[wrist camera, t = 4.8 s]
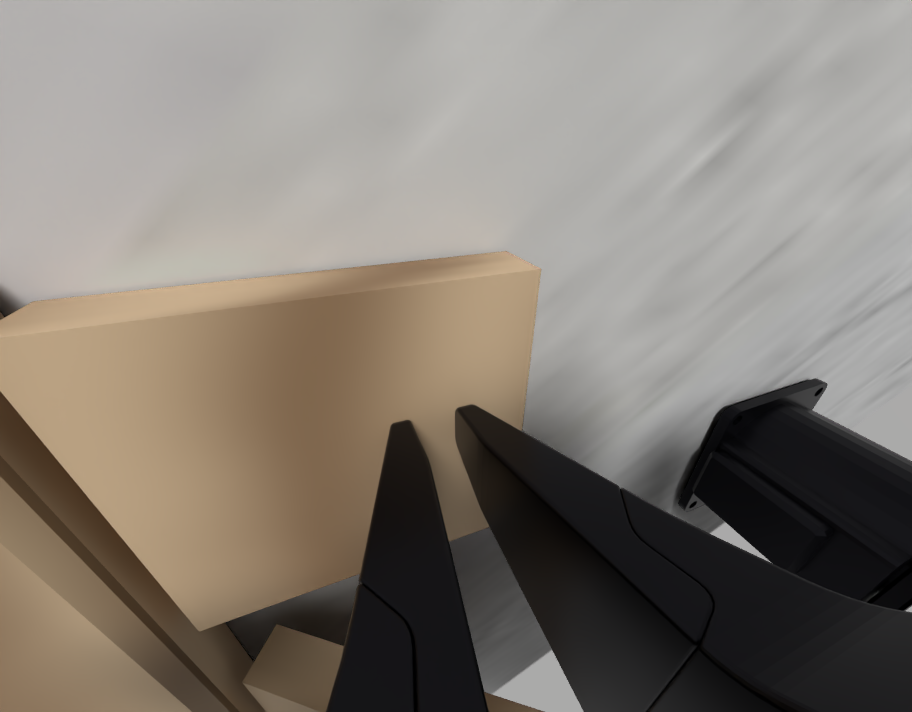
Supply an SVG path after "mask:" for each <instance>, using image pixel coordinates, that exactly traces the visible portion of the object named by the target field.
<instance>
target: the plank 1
mask: <svg viewBox="0 0 912 712" xmlns="http://www.w3.org/2000/svg"><path fill="white" fill-rule="evenodd" d="M540 275H541V269H540V268H538V267H536V266H534V265H532V264H530V263H528V262H526V261H525V260H523V259H521V258H519V257H517V256H515V255H513V254H511V253H509V252H507V251H504V252H494V253H485V254H475V255H466V256H457V257H447V258H438V259H428V260H419V261H409V262H400V263H391V264H381V265H372V266H362V267H353V268H344V269H334V270H325V271H315V272H306V273H296V274H287V275H278V276H268V277H259V278H249V279H240V280H230V281H221V282H212V283H202V284H193V285H183V286H174V287H165V288H155V289H146V290H136V291H127V292H117V293H108V294H99V295H89V296H80V297H70V298H61V299H52V300H42V301H33V302H31V303H30V304H28V305H26V306H24V307H23V308H21V309H19V310H17V311H16V312H14V313H12V314H10V315H8V316H7V317H5V318H3V319H1V320H0V391H1V393H2V394H3V395H4V396H5V397H6V399H7V400H8V401H9V402H10V403H11V405H12V406H13V407H14V408H15V409H16V411H17V412H18V413H19V414H20V416H21V417H22V418H23V419H24V420H25V422H26V423H27V424H28V425H29V426H30V428H31V429H32V430H33V431H34V432H35V434H36V435H37V436H38V437H39V439H40V440H41V441H42V442H43V443H44V445H45V446H46V447H47V448H48V449H49V451H50V452H51V453H52V454H53V455H54V457H55V458H56V459H57V460H58V462H59V463H60V464H61V465H62V466H63V468H64V469H65V470H66V471H67V472H68V474H69V475H70V476H71V477H72V478H73V480H74V481H75V482H76V483H77V485H78V486H79V487H80V488H81V489H82V491H83V492H84V493H85V494H86V495H87V497H88V498H89V499H90V500H91V502H92V503H93V504H94V505H95V506H96V508H97V509H98V510H99V511H100V512H101V514H102V515H103V516H104V517H105V518H106V520H107V521H108V522H109V523H110V525H111V526H112V527H113V528H114V529H115V531H116V532H117V533H118V534H119V535H120V537H121V538H122V539H123V540H124V541H125V543H126V544H127V545H128V546H129V548H130V549H131V550H132V551H133V552H134V554H135V555H136V556H137V557H138V558H139V560H140V561H141V562H142V563H143V564H144V566H145V567H146V568H147V569H148V571H149V572H150V573H151V574H152V575H153V577H154V578H155V579H156V580H157V581H158V583H159V584H160V585H161V586H162V587H163V589H164V590H165V591H166V592H167V594H168V595H169V596H170V597H171V598H172V600H173V601H174V602H175V603H176V604H177V606H178V607H179V608H180V609H181V610H182V612H183V613H184V614H185V615H186V617H187V618H188V619H189V620H190V621H191V623H192V624H193V625H194V626H195V627H196V629H197V630H198V631H202V630H205V629H208V628H211V627H213V626H216V625H219V624H222V623H225V622H227V621H230V620H233V619H236V618H238V617H241V616H244V615H247V614H250V613H252V612H255V611H258V610H261V609H263V608H266V607H269V606H272V605H275V604H277V603H280V602H283V601H286V600H288V599H291V598H294V597H297V596H300V595H302V594H305V593H308V592H311V591H313V590H316V589H319V588H322V587H325V586H327V585H330V584H333V583H336V582H338V581H341V580H344V579H347V578H350V577H352V576H355V575H358V574H360V572H361V567H362V562H363V557H364V552H365V547H366V543H367V538H368V533H369V528H370V523H371V518H372V513H373V508H374V503H375V499H376V494H377V489H378V484H379V479H380V474H381V469H382V464H383V459H384V454H385V450H386V445H387V440H388V435H389V430H390V426H391V424H392V423H395V422H399V421H404V420H410V421H411V422H412V424H413V426H414V428H415V430H416V433H417V435H418V437H419V439H420V441H421V443H422V445H423V447H424V450H425V452H426V454H427V456H428V459H429V462H430V465H431V469H432V473H433V477H434V481H435V485H436V490H437V494H438V498H439V502H440V507H441V511H442V515H443V519H444V524H445V528H446V532H447V536H448V541H449V542H450V541H452V540H455V539H458V538H461V537H463V536H466V535H469V534H472V533H475V532H477V531H480V530H483V529H486V528H489V525H488V523H487V521H486V519H485V517H484V515H483V513H482V511H481V508H480V506H479V503H478V501H477V498H476V496H475V493H474V490H473V488H472V485H471V482H470V480H469V477H468V474H467V472H466V469H465V466H464V464H463V461H462V458H461V455H460V453H459V450H458V447H457V444H456V440H455V410H456V409H457V408H458V407H462V406H466V405H470V404H474V405H476V406H478V407H480V408H482V409H483V410H485V411H487V412H489V413H491V414H492V415H494V416H496V417H498V418H499V419H501V420H503V421H505V422H506V423H508V424H510V425H512V426H514V427H515V428H517V429H519V430H521V431H522V426H523V418H524V409H525V401H526V392H527V384H528V376H529V367H530V359H531V350H532V342H533V334H534V325H535V317H536V308H537V300H538V291H539V283H540Z"/></svg>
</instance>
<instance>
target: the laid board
mask: <svg viewBox="0 0 912 712" xmlns="http://www.w3.org/2000/svg"><path fill="white" fill-rule="evenodd" d="M3 318H4V317H3V315H2V314H1V312H0V320H1V319H3ZM253 663H254V662H253V661H252V659H251V658H250V657H249V655H248V654H247V652H246V651H245V650H244V648H243V647H242V646H241V644H240V643H239V641H238V640H237V639H236V637H235V636H234V635H233V633H232V632H231V630H230V629H229V628H228V626H227V625H226V623H222V624H219V625H216V626H213V627H211V628H208V629H205V630H202V631H198V630H197V629H196V627H195V626H194V625H193V624H192V623H191V621H190V620H189V619H188V618H187V617H186V615H185V614H184V613H183V612H182V610H181V609H180V608H179V607H178V606H177V604H176V603H175V602H174V601H173V600H172V598H171V597H170V596H169V595H168V594H167V592H166V591H165V590H164V589H163V587H162V586H161V585H160V584H159V583H158V581H157V580H156V579H155V578H154V577H153V575H152V574H151V573H150V572H149V571H148V569H147V568H146V567H145V566H144V564H143V563H142V562H141V561H140V560H139V558H138V557H137V556H136V555H135V554H134V552H133V551H132V550H131V549H130V548H129V546H128V545H127V544H126V543H125V541H124V540H123V539H122V538H121V537H120V535H119V534H118V533H117V532H116V531H115V529H114V528H113V527H112V526H111V525H110V523H109V522H108V521H107V520H106V518H105V517H104V516H103V515H102V514H101V512H100V511H99V510H98V509H97V508H96V506H95V505H94V504H93V503H92V502H91V500H90V499H89V498H88V497H87V495H86V494H85V493H84V492H83V491H82V489H81V488H80V487H79V486H78V485H77V483H76V482H75V481H74V480H73V478H72V477H71V476H70V475H69V474H68V472H67V471H66V470H65V469H64V468H63V466H62V465H61V464H60V463H59V462H58V460H57V459H56V458H55V457H54V455H53V454H52V453H51V452H50V451H49V449H48V448H47V447H46V446H45V445H44V443H43V442H42V441H41V440H40V439H39V437H38V436H37V435H36V434H35V432H34V431H33V430H32V429H31V428H30V426H29V425H28V424H27V423H26V422H25V420H24V419H23V418H22V417H21V416H20V414H19V413H18V412H17V411H16V409H15V408H14V407H13V406H12V405H11V403H10V402H9V401H8V400H7V399H6V397H5V396H4V395H3V394H2V393H1V391H0V712H266V711H265V710H264V708H263V707H262V706H261V705H260V704H259V702H258V701H257V700H256V699H255V698H254V696H253V695H252V694H251V693H250V691H249V690H248V689H247V688H246V687H245V685H244V684H243V683H242V681H243V680H244V678H245V676H246V675H247V673H248V671H249V670H250V668H251V666H252V665H253Z"/></svg>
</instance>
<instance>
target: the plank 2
mask: <svg viewBox="0 0 912 712" xmlns="http://www.w3.org/2000/svg"><path fill="white" fill-rule="evenodd" d="M343 648H344V646H342V645H339V644H336V643H333V642H330V641H327V640H324V639H321V638H318V637H314V636H311V635H308V634H305V633H302V632H299V631H296V630H293V629H290V628H287V627H284V626H281V625H278V624H276V626H275V627H274V629H273V631H272V632H271V634H270V636H269V638H268V639H267V641H266V643H265V644H264V646H263V648H262V649H261V651H260V653H259V654H258V656H257V658H256V660H255V661H254V663H253V665H252V666H251V668H250V670H249V671H248V673H247V675H246V676H245V678H244V680H243V681H242V683H243V684H244V685H245V687H246V688H247V689H248V690H249V691H250V693H251V694H252V695H253V696H254V698H255V699H256V700H257V701H258V702H259V704H260V705H261V706H262V707H263V708H264V710H265V711H266V712H326V709H327V706H328V702H329V699H330V695H331V692H332V688H333V685H334V681H335V678H336V675H337V671H338V668H339V664H340V661H341V657H342V652H343ZM484 693H485V697H486V702H487V706H488V710H489V712H543V711H541V710H537V709H534V708H531V707H528V706H525V705H522V704H519V703H516V702H513V701H510V700H507V699H504V698H501V697H498V696H494V695H492V694H489V693H486V692H484Z"/></svg>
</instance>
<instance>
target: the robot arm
mask: <svg viewBox="0 0 912 712" xmlns="http://www.w3.org/2000/svg"><path fill="white" fill-rule="evenodd" d="M826 388H827V383H825V382H823V381H821V380H819V379H812V380H809V381H806V382H803V383H800V384H796V385H793V386H790V387H787V388H784V389H781V390H778V391H775V392H772V393H769V394H766V395H763V396H760V397H757V398H754V399H751V400H748V401H745V402H742V403H739V404H736V405H733V406H731V407H729V408H728V409H726V410H725V411H724V412H723V413H722V415H721V416H720V418H719V420H718V422H717V424H716V426H715V428H714V430H713V432H712V435H711V437H710V439H709V441H708V443H707V445H706V447H705V449H704V451H703V453H702V455H701V457H700V459H699V461H698V463H697V465H696V467H695V469H694V471H693V473H692V475H691V477H690V480H689V482H688V484H687V486H686V488H685V490H684V492H683V494H682V496H681V498H680V500H679V502H678V504H679V506H680V507H681V508H682V509H684V510H685V511H686V512H688V511H691V510H693V509H696V508H698V507H700V506H703V505H705V504H706V505H707V506H708V507H709V508H710V509H711V510H712V511H714V512H715V513H716V514H717V515H718V516H719V517H720V518H722V519H723V520H724V521H725V522H726V523H727V524H728V525H730V526H731V527H732V528H733V529H734V530H735V531H736V532H737V533H739V534H740V535H741V536H742V537H743V538H744V539H745V540H747V541H748V542H749V543H750V544H751V545H752V546H753V547H755V548H756V549H757V550H758V551H759V552H760V553H761V554H762V555H764V556H765V557H766V558H767V559H768V560H769V561H770V562H772V563H773V564H772V563H770V562H768V561H766V560H764V559H762V558H759V557H757V556H755V555H753V554H751V553H749V552H747V551H745V550H742V549H740V548H738V547H736V546H734V545H732V544H730V543H728V542H726V541H724V540H721V539H719V538H717V537H715V536H713V535H711V534H709V533H707V532H705V531H703V530H701V529H699V528H697V527H695V526H693V525H691V524H689V523H687V522H685V521H683V520H681V519H679V518H677V517H675V516H673V515H671V514H669V513H667V512H665V511H664V510H662V509H660V508H658V507H656V506H654V505H652V504H651V503H649V502H647V501H645V500H643V499H641V498H640V497H638V496H636V495H634V494H633V493H631V492H629V491H627V490H625V489H624V488H621V489H620V488H619V486H618V485H616V484H615V483H613V482H611V481H609V480H607V479H606V478H604V477H602V476H600V475H599V474H597V473H595V472H593V471H592V470H590V469H588V468H586V467H584V466H583V465H581V464H579V463H577V462H576V461H574V460H572V459H570V458H568V457H567V456H565V455H563V454H561V453H560V452H558V451H556V450H554V449H553V448H551V447H549V446H547V445H545V444H544V443H542V442H540V441H538V440H537V439H535V438H533V437H531V436H530V435H528V434H526V433H524V432H522V431H521V430H519V429H517V428H515V427H514V426H512V425H510V424H508V423H506V422H505V421H503V420H501V419H499V418H498V417H496V416H494V415H492V414H491V413H489V412H487V411H485V410H483V409H482V408H480V407H478V406H476V405H474V404H470V405H466V406H462V407H458V408H457V409H456V410H455V440H456V444H457V447H458V450H459V453H460V455H461V458H462V461H463V464H464V466H465V469H466V472H467V474H468V477H469V480H470V482H471V485H472V488H473V490H474V493H475V496H476V498H477V501H478V503H479V506H480V508H481V511H482V513H483V515H484V517H485V519H486V521H487V523H488V525H489V527H490V529H491V531H492V533H493V535H494V537H495V539H496V540H497V542H498V544H499V546H500V548H501V550H502V552H503V554H504V556H505V558H506V560H507V562H508V564H509V566H510V568H511V570H512V572H513V574H514V576H515V578H516V580H517V582H518V584H519V586H520V588H521V590H522V591H523V593H524V595H525V597H526V599H527V601H528V603H529V605H530V607H531V609H532V611H533V613H534V615H535V617H536V619H537V621H538V623H539V625H540V627H541V629H542V631H543V633H544V635H545V637H546V639H547V640H548V642H549V644H550V646H551V648H552V650H553V652H554V654H555V656H556V658H557V660H558V662H559V664H560V666H561V668H562V670H563V671H564V674H565V676H566V678H567V680H568V682H569V684H570V686H571V688H572V689H573V691H574V693H575V695H576V697H577V699H578V701H579V703H580V705H581V707H582V709H583V711H584V712H912V612H906V610H907V609H908V608H910V607H911V606H912V461H910V460H908V459H906V458H904V457H902V456H900V455H898V454H896V453H895V452H893V451H891V450H888V449H887V448H885V447H883V446H881V445H879V444H877V443H875V442H873V441H871V440H869V439H867V438H865V437H863V436H861V435H859V434H857V433H855V432H853V431H852V430H850V429H848V428H846V427H844V426H842V425H840V424H838V423H836V422H834V421H832V420H830V419H828V418H826V417H824V416H822V415H820V414H818V413H817V412H815V411H813V410H812V409H813V408H814V406H815V405H816V403H817V402H818V400H819V399H820V397H821V396H822V394H823V393H824V391H825V389H826ZM359 584H360V585H358V587H357V590H356V595H355V600H354V605H353V609H352V614H351V618H350V623H349V627H348V631H347V635H346V640H345V644H344V648H343V652H342V657H341V661H340V664H339V668H338V671H337V675H336V678H335V681H334V685H333V688H332V692H331V695H330V699H329V702H328V706H327V709H326V712H489V710H488V706H487V702H486V697H485V693H484V689H483V685H482V681H481V676H480V672H479V668H478V664H477V659H476V655H475V651H474V647H473V642H472V638H471V634H470V630H469V625H468V621H467V617H466V613H465V608H464V604H463V600H462V596H461V591H460V587H459V583H458V579H457V575H456V570H455V566H454V562H453V558H452V553H451V549H450V545H449V541H448V536H447V532H446V528H445V524H444V519H443V515H442V511H441V507H440V502H439V498H438V494H437V490H436V485H435V481H434V477H433V473H432V469H431V465H430V462H429V459H428V456H427V454H426V452H425V450H424V447H423V445H422V443H421V441H420V439H419V437H418V435H417V433H416V430H415V428H414V426H413V424H412V422H411V421H410V420H404V421H399V422H395V423H392V424H391V426H390V430H389V435H388V440H387V445H386V450H385V454H384V459H383V464H382V469H381V474H380V479H379V484H378V489H377V494H376V499H375V503H374V508H373V513H372V518H371V523H370V528H369V533H368V538H367V543H366V547H365V552H364V557H363V562H362V567H361V572H360V577H359Z"/></svg>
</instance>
